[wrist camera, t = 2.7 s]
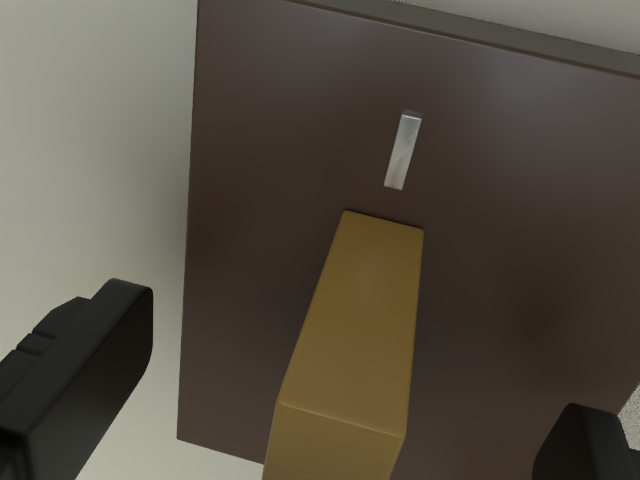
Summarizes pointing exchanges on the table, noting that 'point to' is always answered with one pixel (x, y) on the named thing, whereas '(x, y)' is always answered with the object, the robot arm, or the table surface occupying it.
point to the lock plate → (413, 218)
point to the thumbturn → (351, 359)
